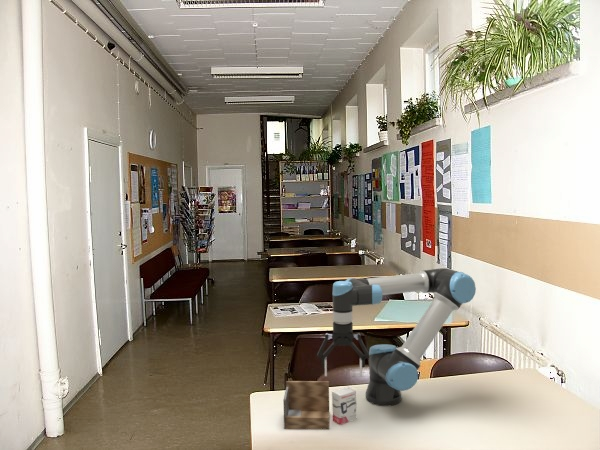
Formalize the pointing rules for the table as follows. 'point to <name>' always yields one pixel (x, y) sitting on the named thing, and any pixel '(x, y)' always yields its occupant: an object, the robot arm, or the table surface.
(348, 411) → the ink box
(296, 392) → the open wooden box
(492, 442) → the table surface
